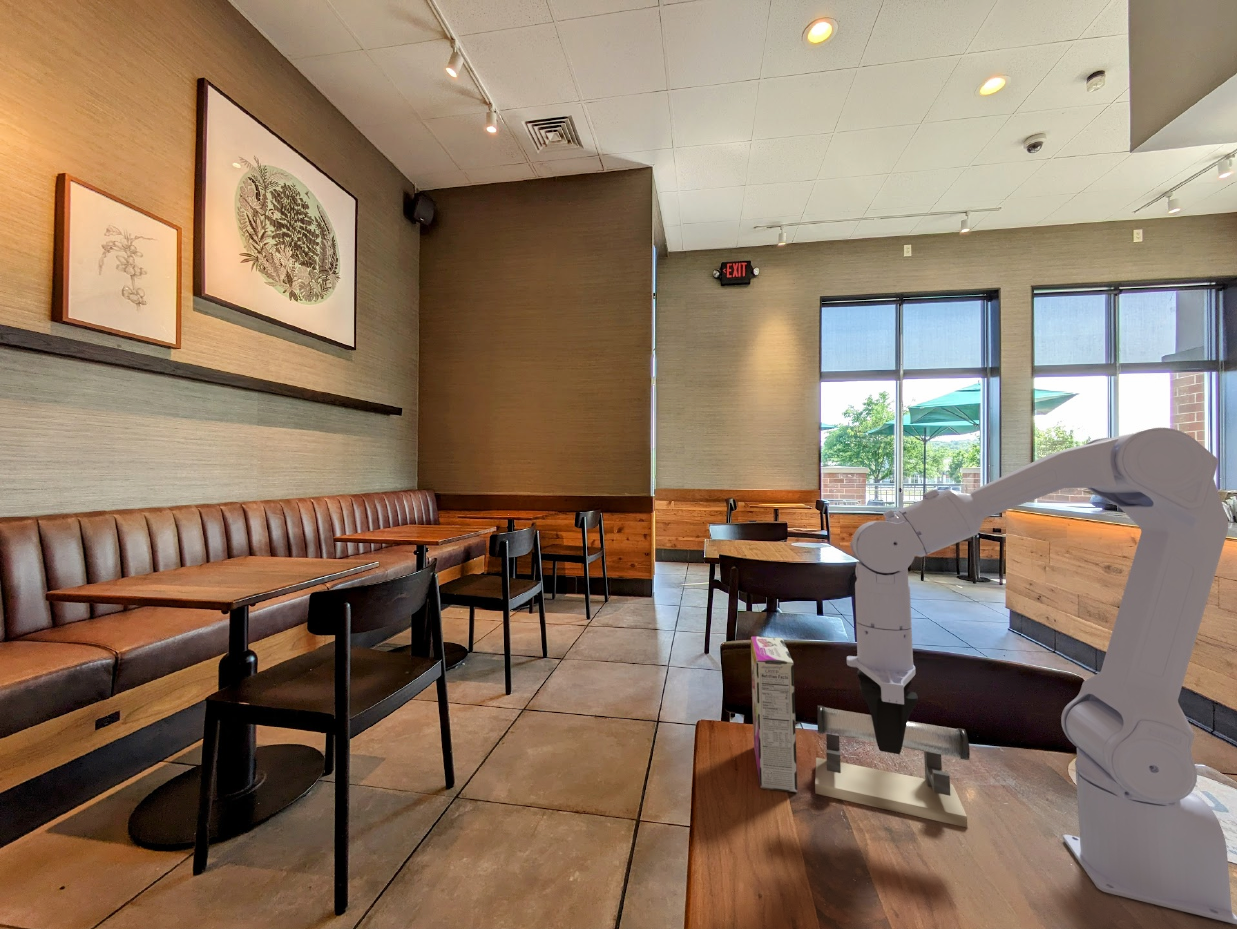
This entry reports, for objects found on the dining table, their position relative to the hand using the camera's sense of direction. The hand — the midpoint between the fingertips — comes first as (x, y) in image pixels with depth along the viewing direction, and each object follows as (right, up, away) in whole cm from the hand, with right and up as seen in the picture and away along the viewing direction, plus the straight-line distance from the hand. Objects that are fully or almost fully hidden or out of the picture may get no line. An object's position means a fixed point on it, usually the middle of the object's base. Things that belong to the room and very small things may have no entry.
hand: (887, 744), depth 56 cm
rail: (0, +1, 0) cm, 2 cm away
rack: (+3, -9, +5) cm, 11 cm away
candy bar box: (-10, -10, +11) cm, 18 cm away
